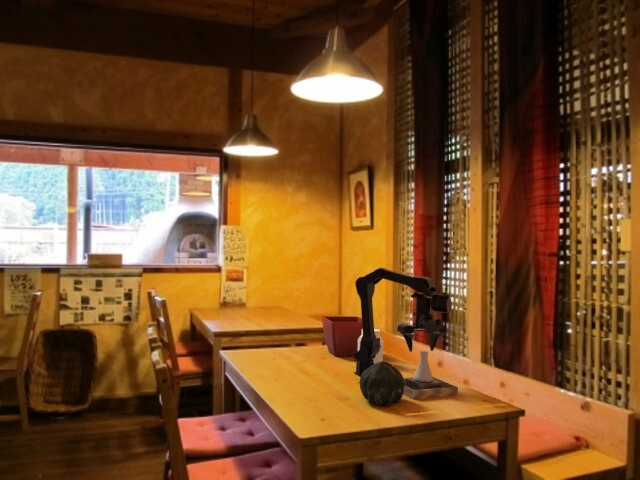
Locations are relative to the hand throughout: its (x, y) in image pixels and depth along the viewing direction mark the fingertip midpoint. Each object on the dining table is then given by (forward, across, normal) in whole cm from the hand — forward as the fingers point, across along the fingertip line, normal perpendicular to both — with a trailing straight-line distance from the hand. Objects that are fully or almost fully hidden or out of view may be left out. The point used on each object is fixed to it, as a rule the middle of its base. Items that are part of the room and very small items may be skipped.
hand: (421, 351), depth 203 cm
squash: (+13, -25, -18) cm, 33 cm away
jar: (+13, -3, +37) cm, 40 cm away
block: (+12, -5, -11) cm, 17 cm away
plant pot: (+14, -6, +59) cm, 61 cm away
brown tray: (+12, -5, -11) cm, 17 cm away
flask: (+8, -5, -11) cm, 14 cm away
